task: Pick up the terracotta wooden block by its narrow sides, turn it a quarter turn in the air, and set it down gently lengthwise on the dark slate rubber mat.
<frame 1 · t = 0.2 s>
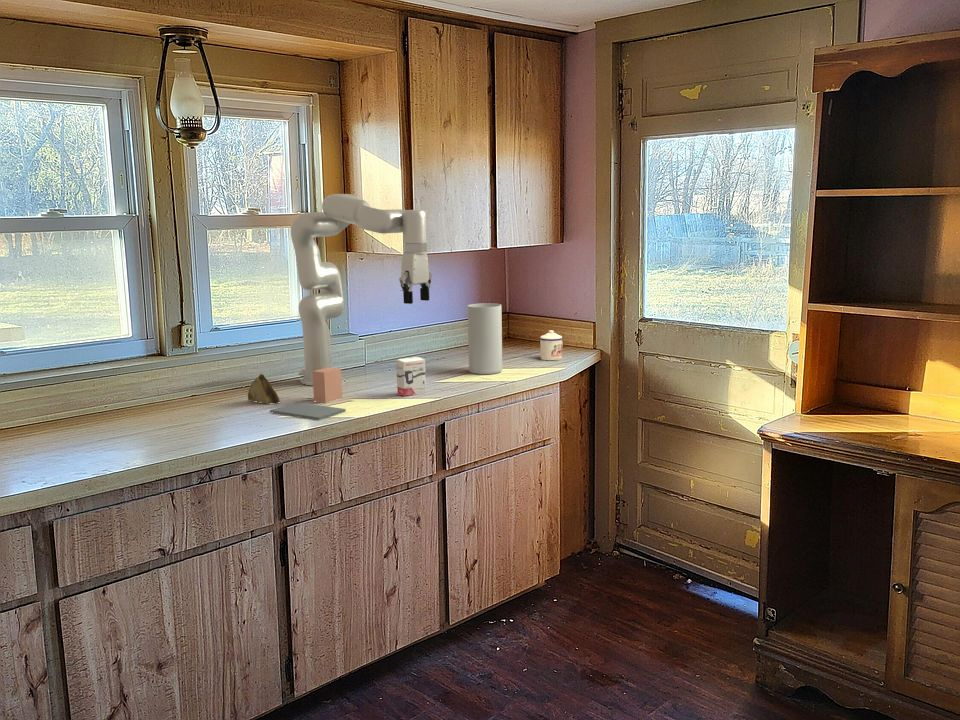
hand: (416, 301, 281), 31 cm above the countertop, tool pointing down, fingers open, 9 cm apart
cylinder vase: (485, 372, 324), on the countertop
terracotta block: (328, 399, 281), on the countertop
ink box: (411, 394, 288), on the countertop
mat: (307, 412, 265), on the countertop
teacup with lid: (553, 359, 349), on the countertop
rock: (263, 402, 280), on the countertop
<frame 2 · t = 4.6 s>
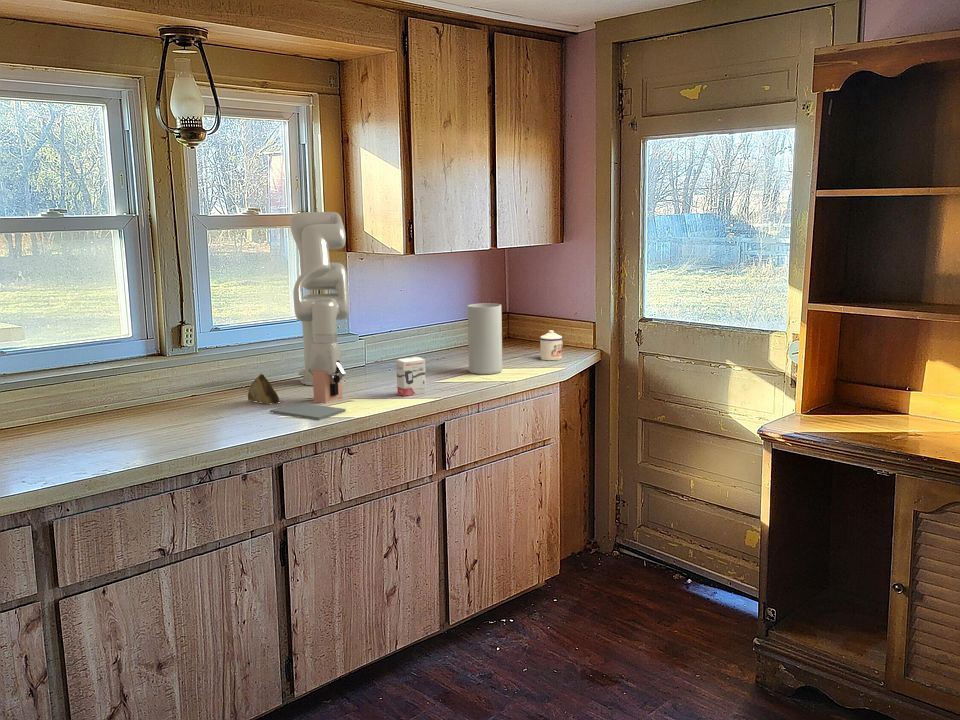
hand: (327, 393, 281), 2 cm above the countertop, tool pointing down, fingers closed on terracotta block, 5 cm apart
terracotta block: (328, 399, 281), on the countertop, touching gripper
everything else where it was.
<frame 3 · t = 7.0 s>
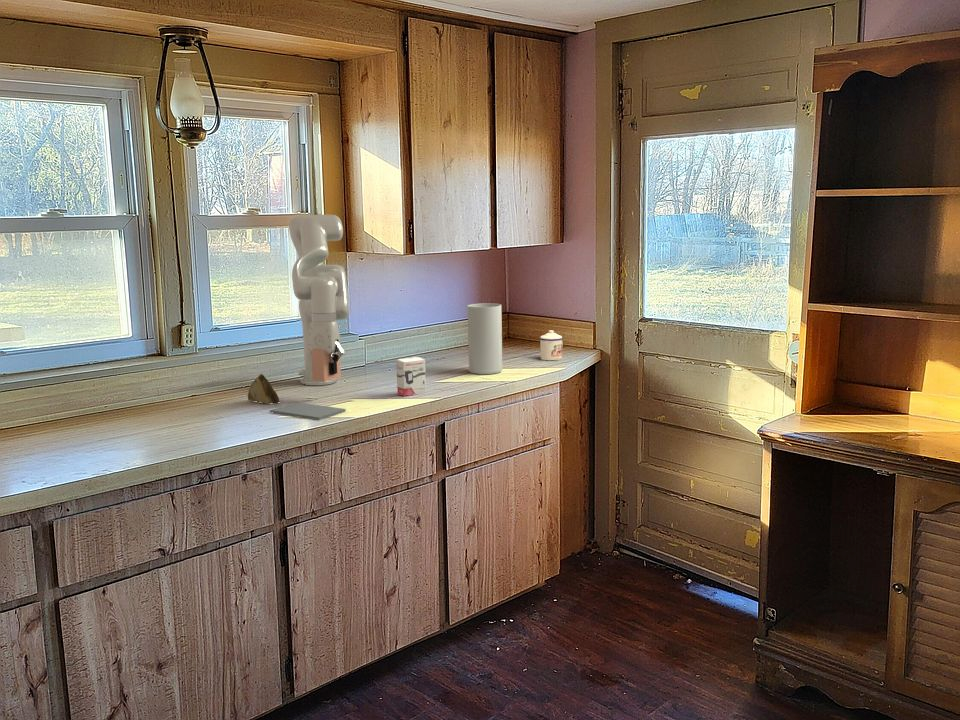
hand: (326, 372, 280), 9 cm above the countertop, tool pointing down, fingers closed on terracotta block, 5 cm apart
terracotta block: (326, 378, 281), point 7 cm above the countertop, touching gripper
everything else where it was.
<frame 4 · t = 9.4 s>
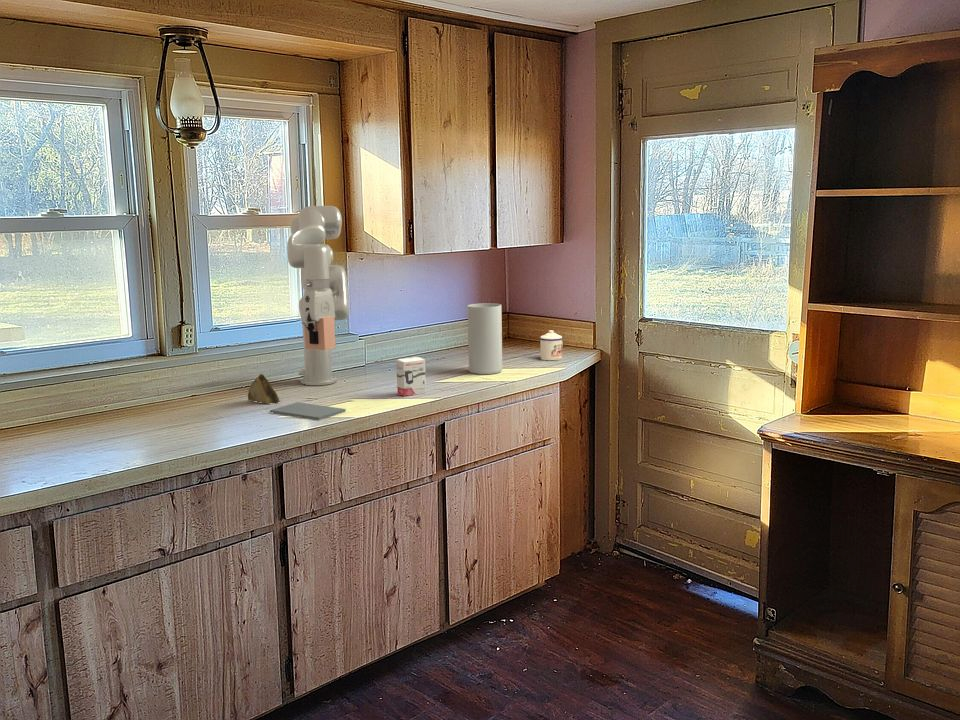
hand: (320, 342, 274), 20 cm above the countertop, tool pointing down, fingers closed on terracotta block, 5 cm apart
terracotta block: (320, 348, 274), point 18 cm above the countertop, touching gripper
everything else where it was.
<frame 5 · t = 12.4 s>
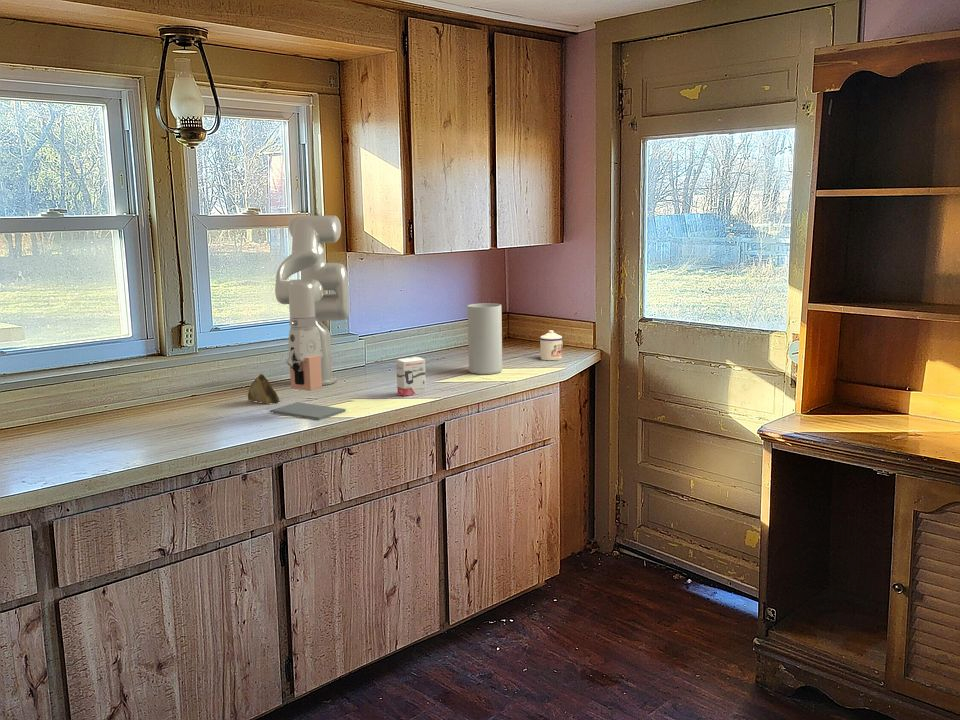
hand: (306, 381, 263), 9 cm above the countertop, tool pointing down, fingers closed on terracotta block, 5 cm apart
terracotta block: (306, 388, 263), point 8 cm above the countertop, touching gripper
everything else where it was.
when the fingers open (4 cm above the countertop, at t = 14.6 s): terracotta block stays where it is, resting on mat.
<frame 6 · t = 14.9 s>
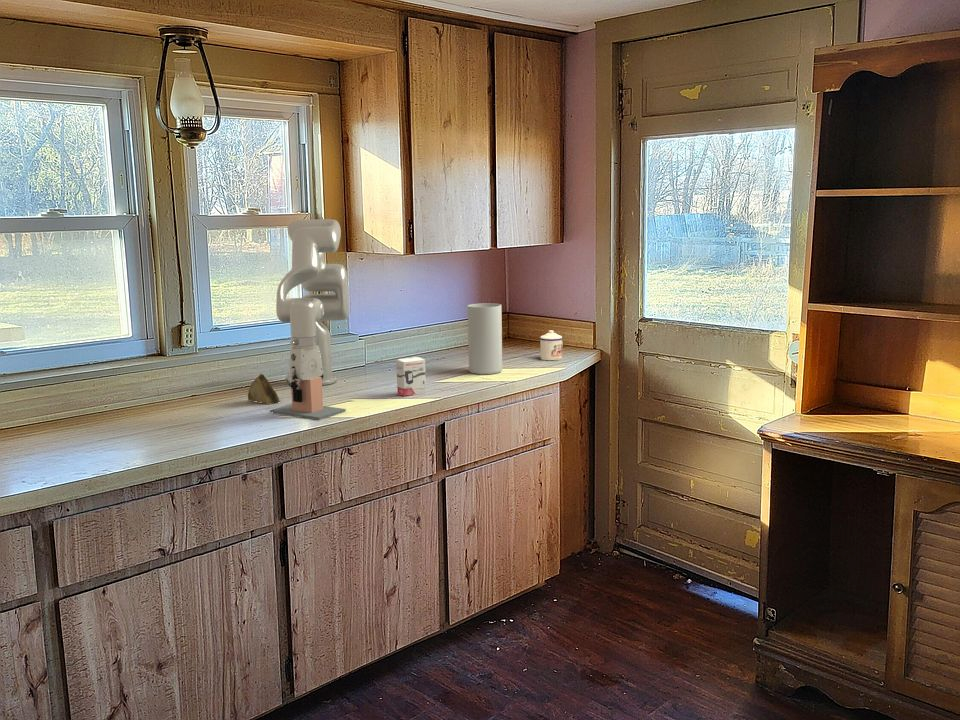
hand: (307, 398, 264), 4 cm above the countertop, tool pointing down, fingers open, 7 cm apart
terracotta block: (307, 409, 265), point 1 cm above the countertop, touching mat
everything else where it was.
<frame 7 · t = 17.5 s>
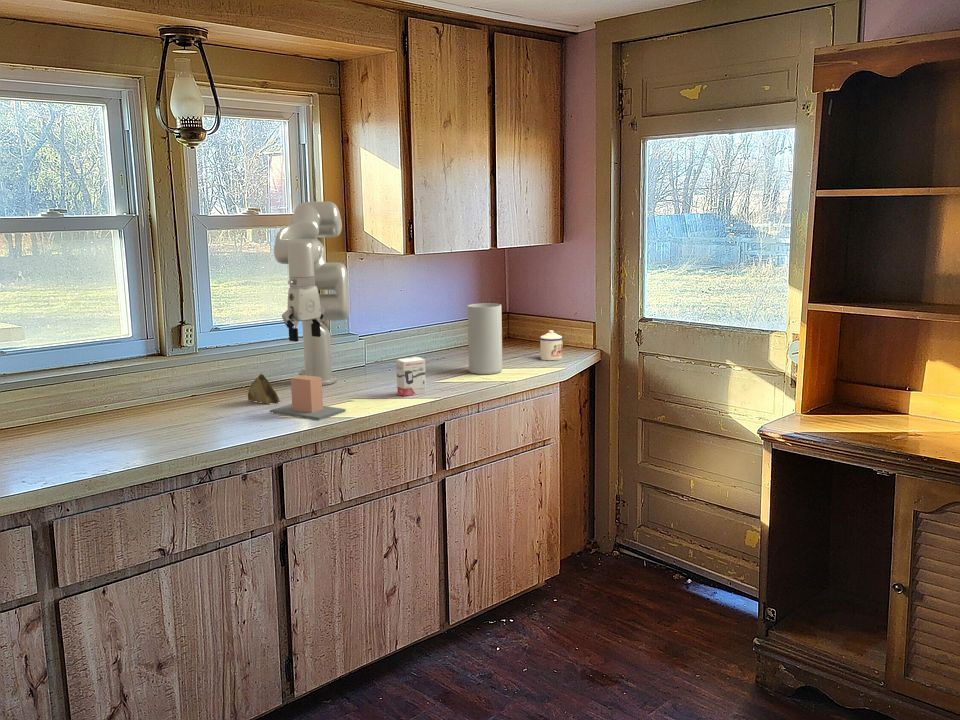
hand: (305, 338, 262), 23 cm above the countertop, tool pointing down, fingers open, 9 cm apart
nothing on the countertop moved.
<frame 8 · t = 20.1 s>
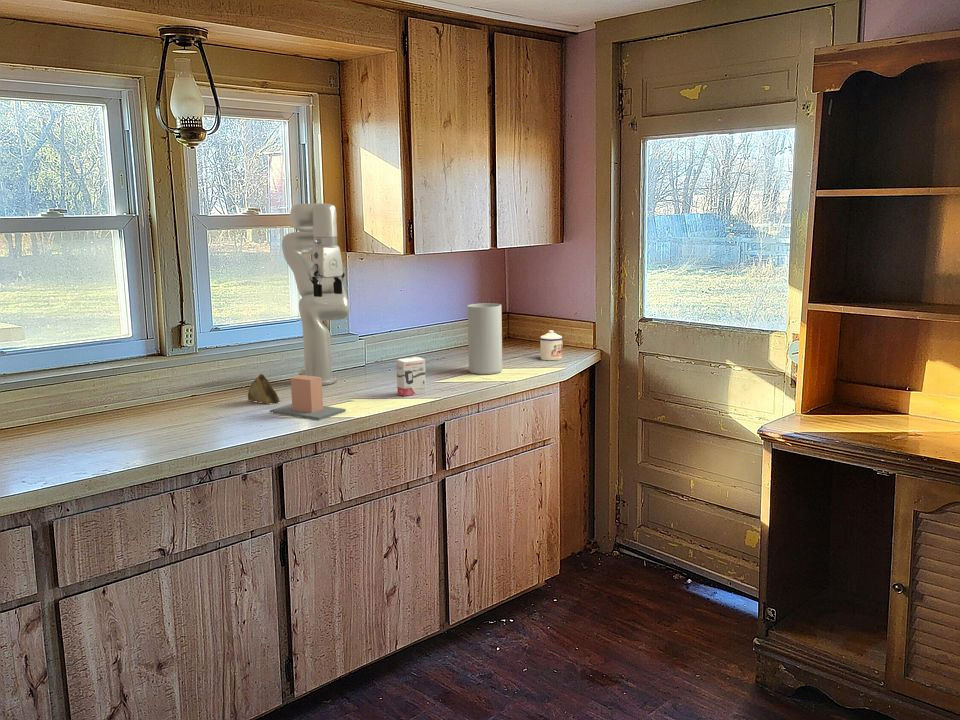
hand: (328, 295, 283), 33 cm above the countertop, tool pointing down, fingers open, 9 cm apart
nothing on the countertop moved.
at the end: terracotta block inside the target area on the mat (0.0 cm from its centre), point 0.8 cm above the mat's base; terracotta block tilted 0°; the gripper is holding nothing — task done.
